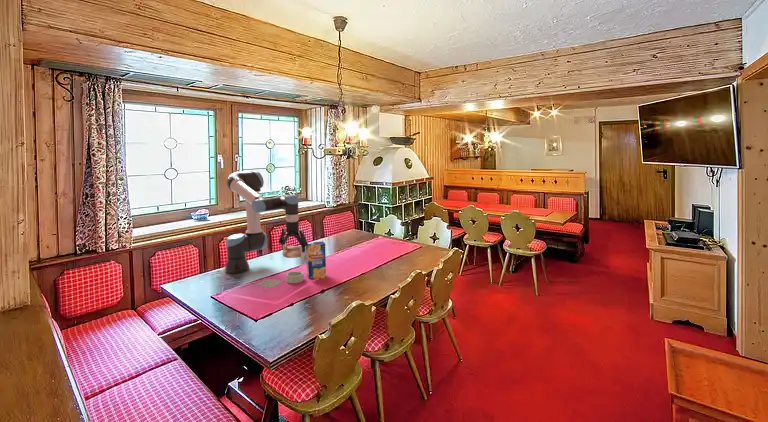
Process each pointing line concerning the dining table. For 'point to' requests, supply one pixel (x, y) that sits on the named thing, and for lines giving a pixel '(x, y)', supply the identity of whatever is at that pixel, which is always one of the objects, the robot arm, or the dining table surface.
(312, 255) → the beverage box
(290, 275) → the bowl
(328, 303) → the dining table surface
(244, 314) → the dining table surface
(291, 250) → the lid
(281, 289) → the dining table surface
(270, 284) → the mat
